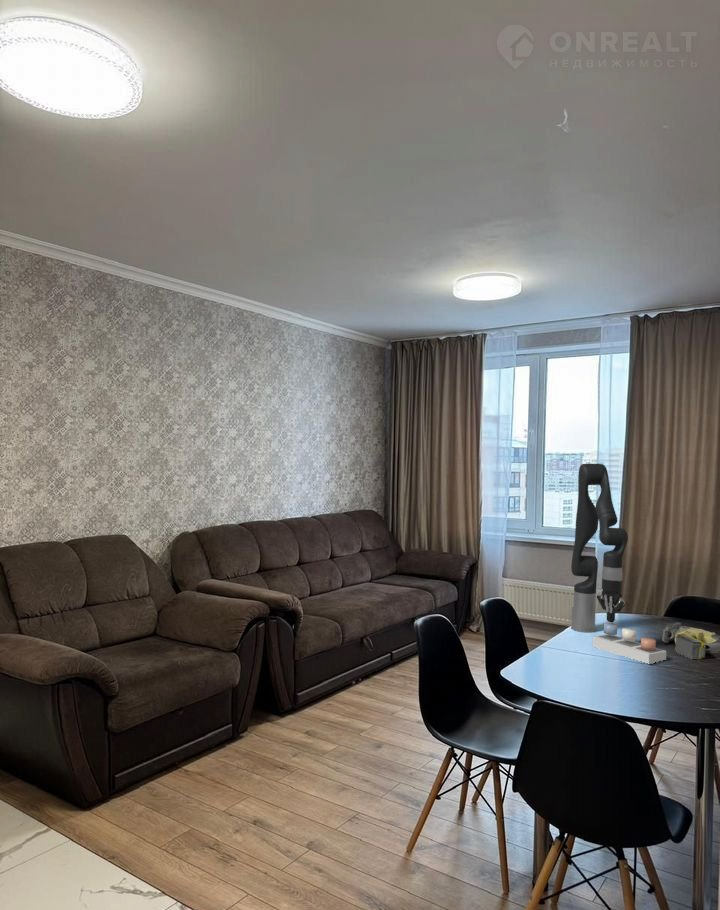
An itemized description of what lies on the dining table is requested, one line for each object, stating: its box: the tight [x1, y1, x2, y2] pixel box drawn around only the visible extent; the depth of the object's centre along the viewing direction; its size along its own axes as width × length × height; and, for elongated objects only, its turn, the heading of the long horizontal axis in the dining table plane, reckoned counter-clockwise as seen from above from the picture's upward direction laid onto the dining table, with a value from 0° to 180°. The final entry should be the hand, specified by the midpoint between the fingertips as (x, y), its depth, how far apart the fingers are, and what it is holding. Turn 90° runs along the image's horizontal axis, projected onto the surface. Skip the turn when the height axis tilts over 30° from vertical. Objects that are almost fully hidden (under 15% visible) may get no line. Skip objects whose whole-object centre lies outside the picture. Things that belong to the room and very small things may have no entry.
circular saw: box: [661, 621, 720, 660], centre depth 256 cm, size 10×30×25 cm
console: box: [592, 634, 667, 664], centre depth 248 cm, size 25×10×4 cm, turn 30°
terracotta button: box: [640, 637, 657, 651], centre depth 241 cm, size 5×5×4 cm
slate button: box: [603, 622, 618, 636], centre depth 256 cm, size 5×5×4 cm
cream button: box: [621, 627, 637, 642], centre depth 248 cm, size 5×5×4 cm
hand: (610, 621), depth 255 cm, fingers closed
